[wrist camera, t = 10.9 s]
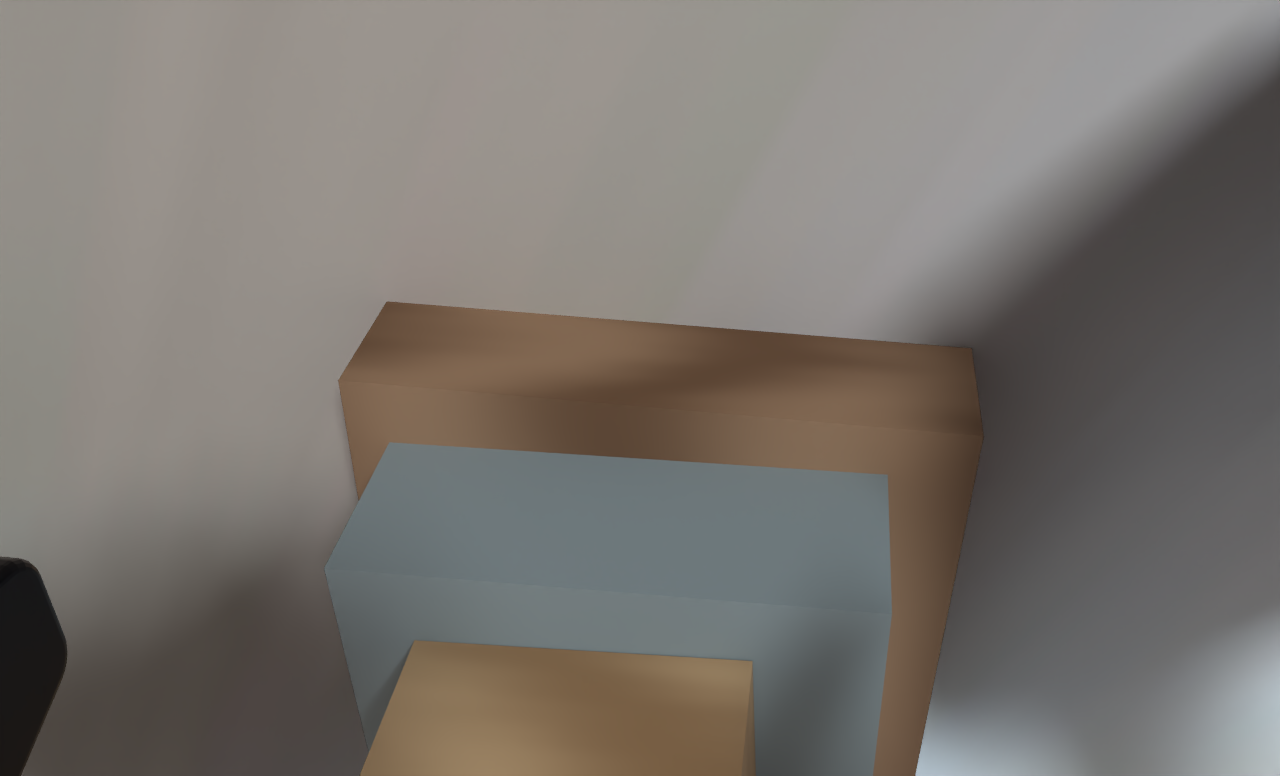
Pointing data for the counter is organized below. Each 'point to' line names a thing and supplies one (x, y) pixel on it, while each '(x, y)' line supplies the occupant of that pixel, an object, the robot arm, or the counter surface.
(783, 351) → the tower base
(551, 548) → the tower top
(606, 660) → the oak block
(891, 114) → the counter surface
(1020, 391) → the counter surface
